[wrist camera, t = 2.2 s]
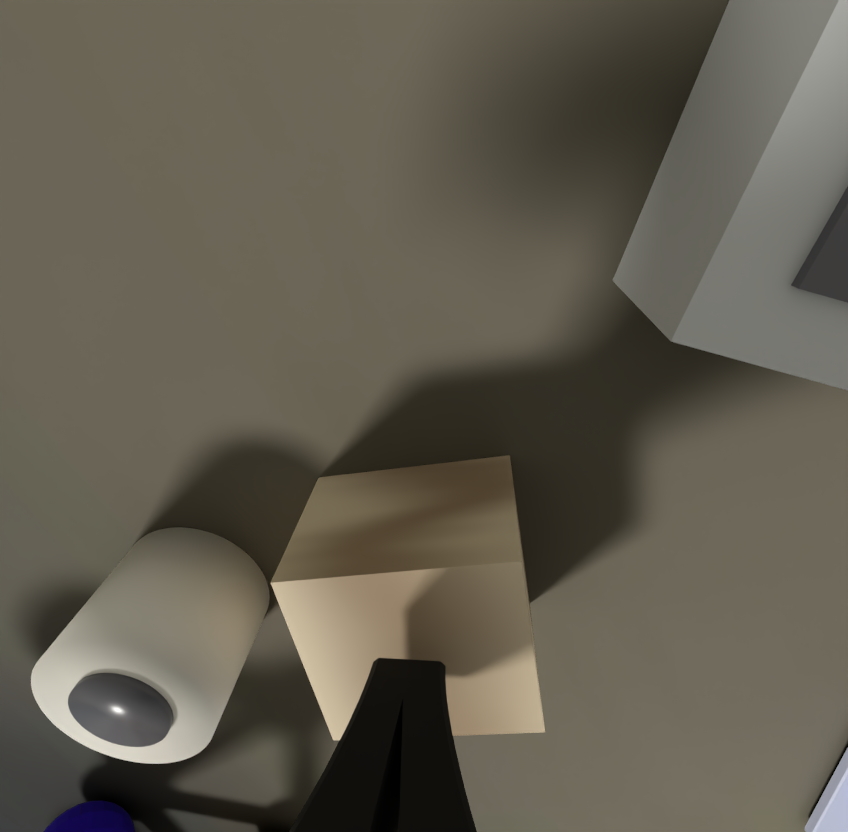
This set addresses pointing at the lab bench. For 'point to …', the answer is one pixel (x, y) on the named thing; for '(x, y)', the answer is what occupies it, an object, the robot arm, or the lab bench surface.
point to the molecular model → (93, 819)
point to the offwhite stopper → (155, 648)
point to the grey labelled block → (756, 197)
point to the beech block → (415, 590)
